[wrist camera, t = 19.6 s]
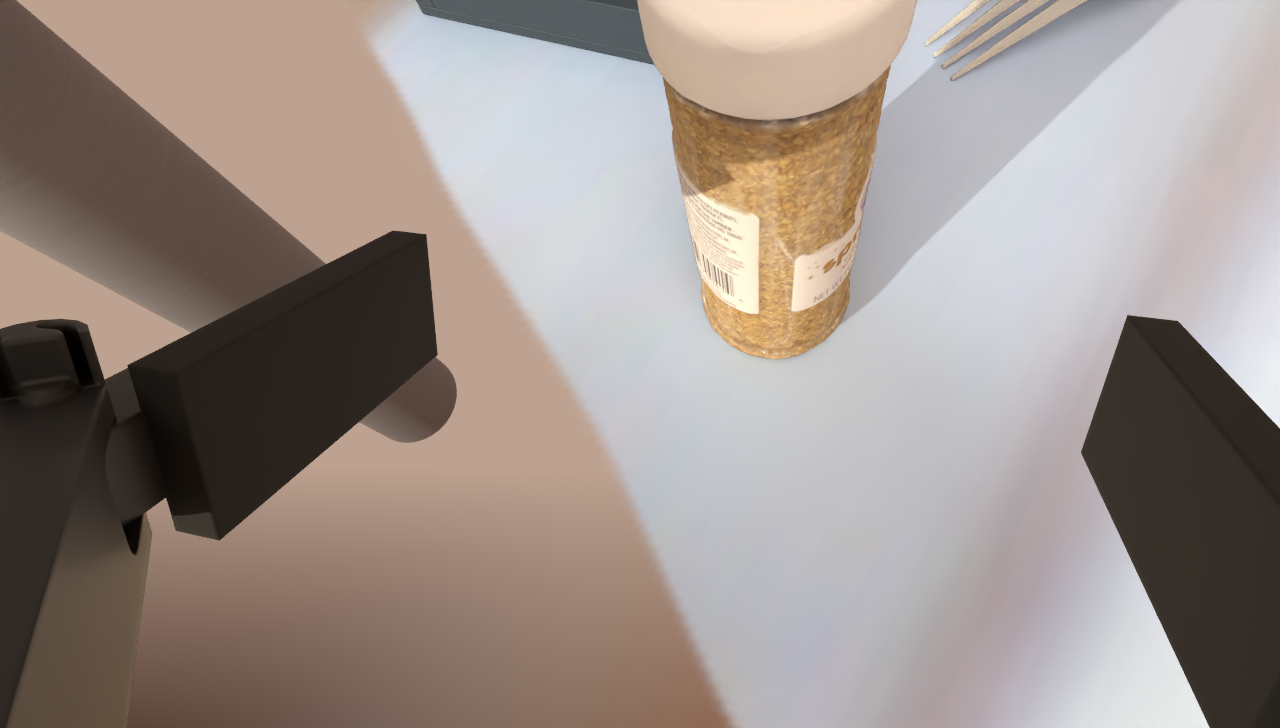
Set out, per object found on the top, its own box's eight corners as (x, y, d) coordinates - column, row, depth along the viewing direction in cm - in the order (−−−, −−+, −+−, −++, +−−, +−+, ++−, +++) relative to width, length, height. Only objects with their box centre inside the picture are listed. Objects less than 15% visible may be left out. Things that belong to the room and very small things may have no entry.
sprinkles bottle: (864, 346, 23) (976, -5, 10) (713, 375, 23) (649, 71, 11) (829, 215, 25) (888, -224, 12) (688, 244, 25) (607, -149, 13)
